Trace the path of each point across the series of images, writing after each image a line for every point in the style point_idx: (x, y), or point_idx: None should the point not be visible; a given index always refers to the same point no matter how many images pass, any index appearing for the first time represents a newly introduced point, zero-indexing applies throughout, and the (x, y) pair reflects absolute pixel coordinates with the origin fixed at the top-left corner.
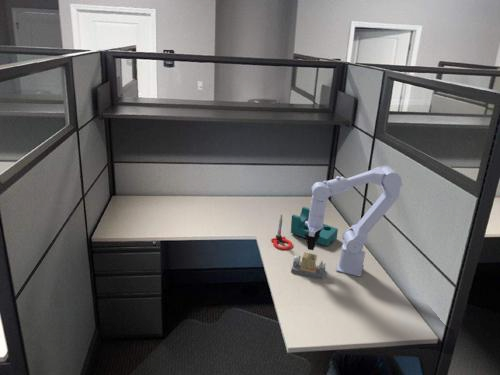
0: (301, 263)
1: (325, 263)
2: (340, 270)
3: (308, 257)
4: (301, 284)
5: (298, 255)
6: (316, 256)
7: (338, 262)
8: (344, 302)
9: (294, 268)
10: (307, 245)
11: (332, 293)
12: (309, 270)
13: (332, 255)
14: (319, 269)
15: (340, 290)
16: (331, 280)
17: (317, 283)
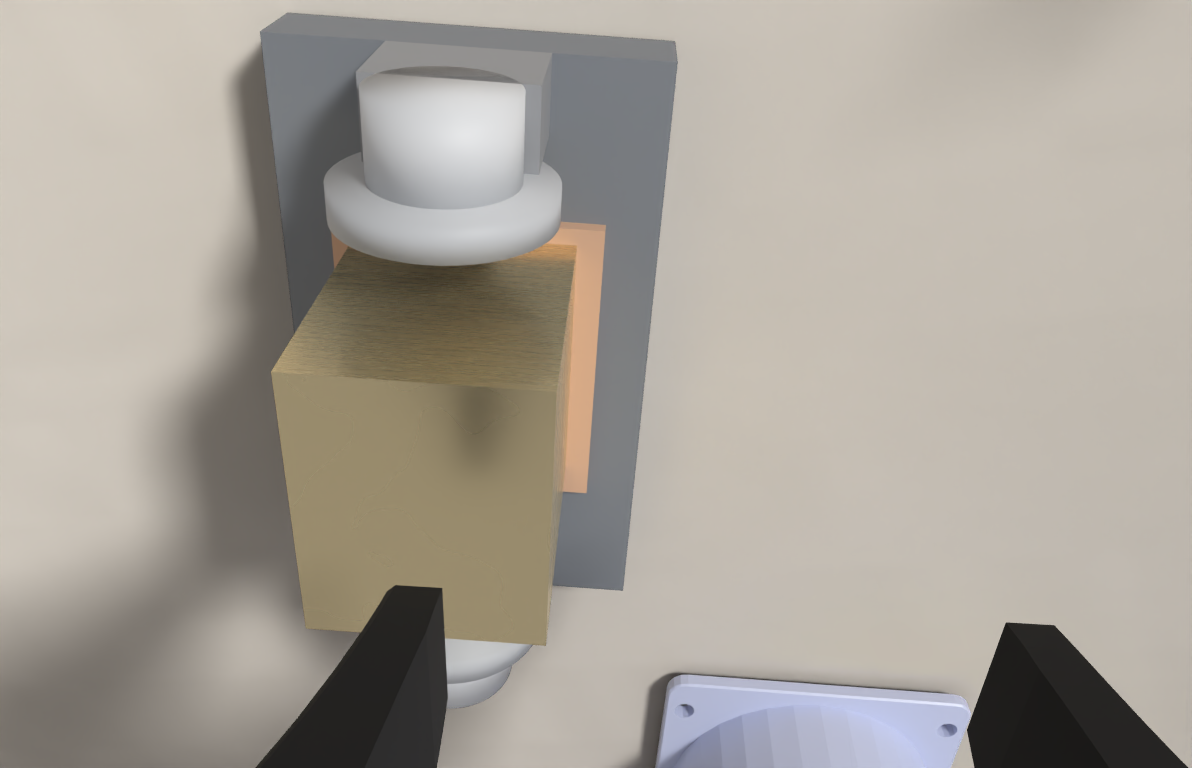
0: (579, 205)
1: (472, 699)
2: (677, 726)
3: (331, 500)
4: (17, 268)
5: (434, 225)
6: (472, 636)
7: (904, 701)
8: (17, 755)
9: (305, 95)
10: (338, 666)
11: (101, 651)
12: None
13: (1155, 609)
14: None
15: (228, 719)
16: None
17: (208, 481)
